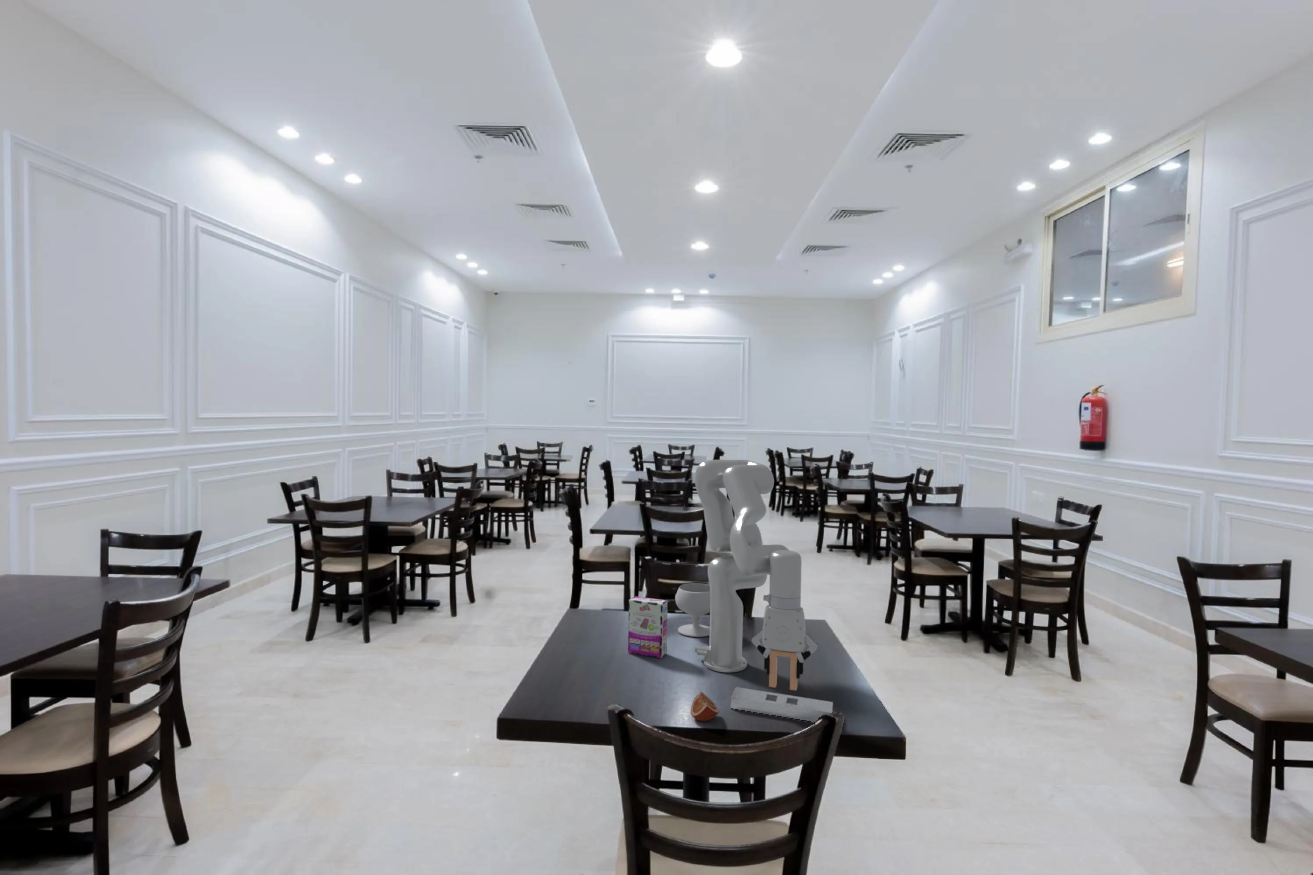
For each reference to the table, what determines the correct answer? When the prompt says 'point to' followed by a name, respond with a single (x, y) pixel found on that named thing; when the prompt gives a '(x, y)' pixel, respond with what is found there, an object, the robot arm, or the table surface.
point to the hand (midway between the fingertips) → (783, 673)
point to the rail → (779, 704)
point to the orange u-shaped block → (774, 668)
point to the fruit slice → (703, 708)
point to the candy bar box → (647, 626)
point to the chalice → (694, 607)
